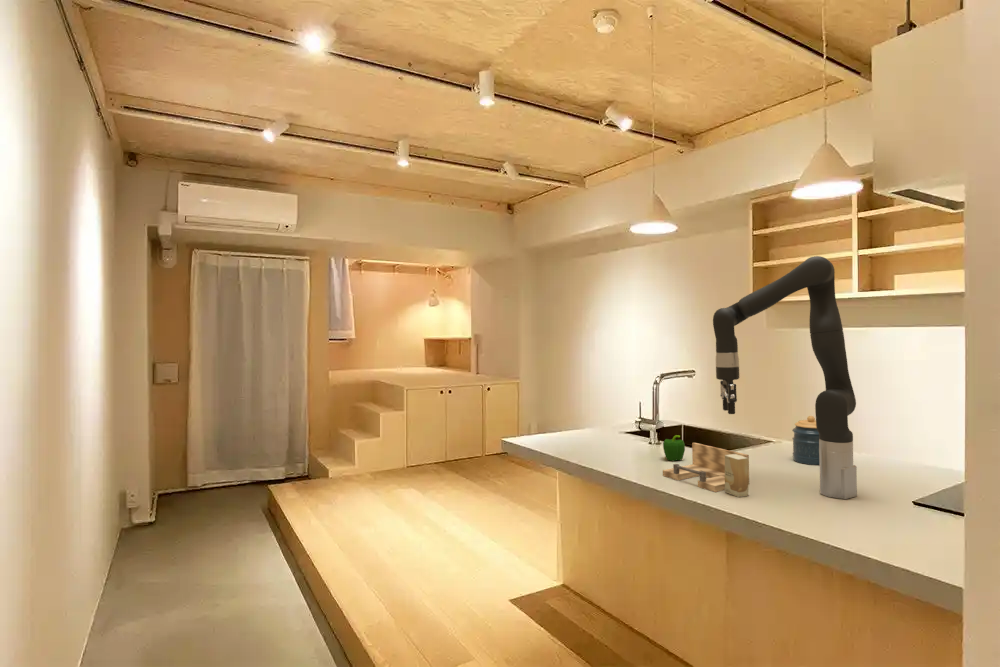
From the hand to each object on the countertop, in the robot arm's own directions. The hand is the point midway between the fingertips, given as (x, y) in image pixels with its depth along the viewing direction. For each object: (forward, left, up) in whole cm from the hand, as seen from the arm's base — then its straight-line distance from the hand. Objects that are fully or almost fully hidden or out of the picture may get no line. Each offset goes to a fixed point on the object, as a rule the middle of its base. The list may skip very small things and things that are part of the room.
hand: (728, 412), depth 201 cm
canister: (+1, -46, -24) cm, 52 cm away
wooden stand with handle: (+5, +7, -24) cm, 25 cm away
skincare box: (-12, +11, -24) cm, 29 cm away
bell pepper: (+32, -5, -24) cm, 40 cm away
